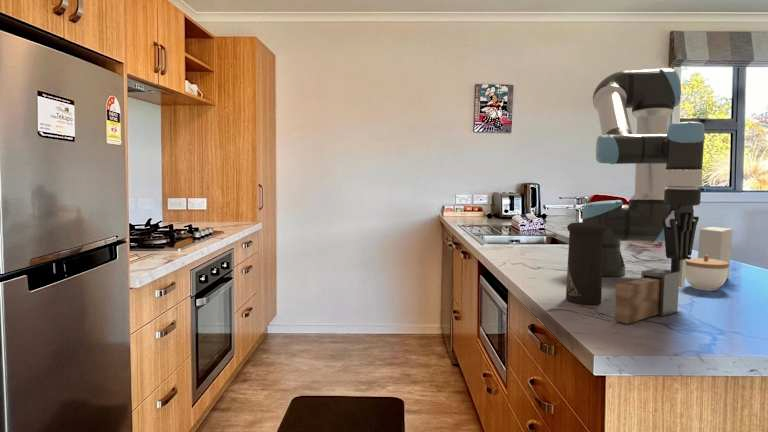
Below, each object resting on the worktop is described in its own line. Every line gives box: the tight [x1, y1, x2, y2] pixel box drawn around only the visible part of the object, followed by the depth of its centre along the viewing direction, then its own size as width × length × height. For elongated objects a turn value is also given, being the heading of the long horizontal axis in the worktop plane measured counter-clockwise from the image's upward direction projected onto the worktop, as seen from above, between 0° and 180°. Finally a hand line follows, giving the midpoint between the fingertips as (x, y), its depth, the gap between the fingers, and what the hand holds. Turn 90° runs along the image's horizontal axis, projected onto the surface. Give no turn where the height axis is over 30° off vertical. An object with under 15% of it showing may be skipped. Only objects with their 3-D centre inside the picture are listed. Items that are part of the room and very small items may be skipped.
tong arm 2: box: [620, 277, 662, 325], centre depth 112 cm, size 18×1×8 cm, turn 125°
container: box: [565, 221, 606, 306], centre depth 126 cm, size 9×9×20 cm
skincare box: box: [697, 226, 733, 280], centre depth 154 cm, size 8×7×16 cm
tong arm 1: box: [614, 276, 658, 323], centre depth 113 cm, size 18×1×8 cm, turn 125°
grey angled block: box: [640, 267, 680, 317], centre depth 117 cm, size 7×5×9 cm
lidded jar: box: [685, 255, 729, 292], centre depth 141 cm, size 11×11×9 cm
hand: (677, 285), depth 122 cm, fingers closed
